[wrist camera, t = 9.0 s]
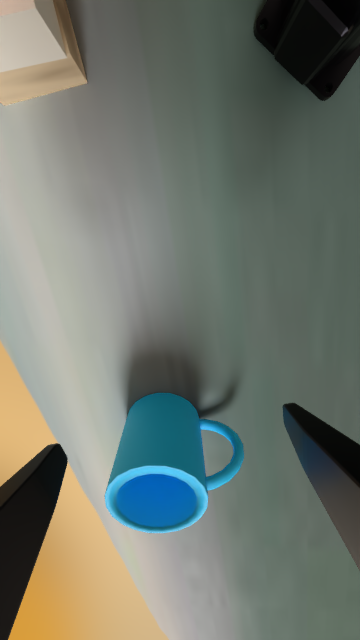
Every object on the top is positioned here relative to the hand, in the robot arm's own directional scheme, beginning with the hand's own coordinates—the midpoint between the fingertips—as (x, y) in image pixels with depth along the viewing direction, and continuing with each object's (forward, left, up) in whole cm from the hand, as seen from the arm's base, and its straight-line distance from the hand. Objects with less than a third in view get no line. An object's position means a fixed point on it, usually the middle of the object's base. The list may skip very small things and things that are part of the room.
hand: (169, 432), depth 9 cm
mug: (+10, +7, -13) cm, 18 cm away
